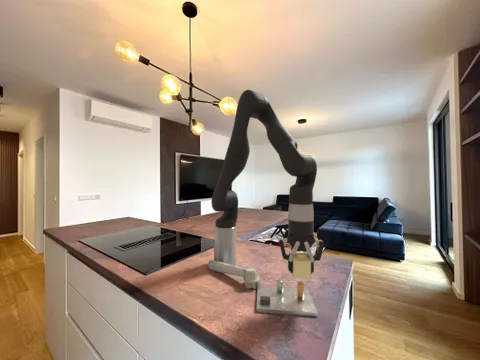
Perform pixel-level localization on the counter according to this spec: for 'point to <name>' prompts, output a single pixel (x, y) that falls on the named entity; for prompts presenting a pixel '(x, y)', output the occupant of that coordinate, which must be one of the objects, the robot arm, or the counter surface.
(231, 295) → the counter surface
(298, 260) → the cube with dome bump
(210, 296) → the counter surface
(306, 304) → the plate
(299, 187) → the robot arm
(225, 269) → the white handheld device
